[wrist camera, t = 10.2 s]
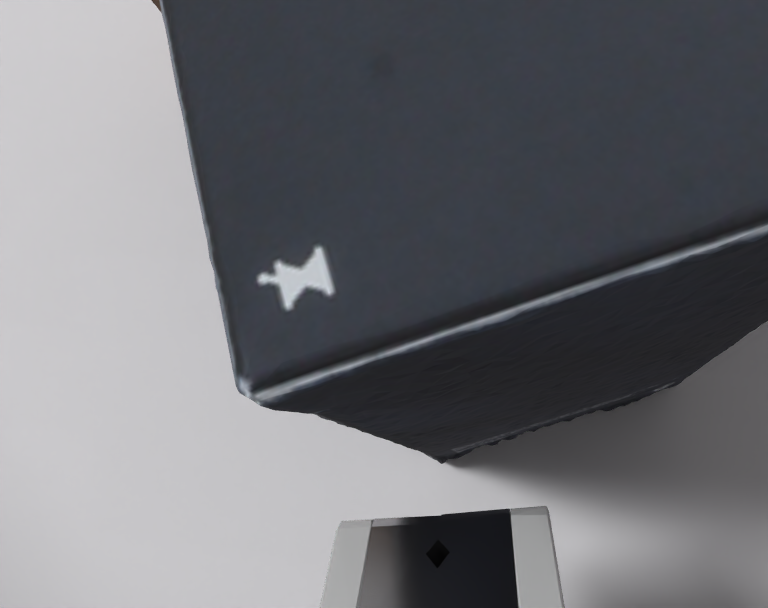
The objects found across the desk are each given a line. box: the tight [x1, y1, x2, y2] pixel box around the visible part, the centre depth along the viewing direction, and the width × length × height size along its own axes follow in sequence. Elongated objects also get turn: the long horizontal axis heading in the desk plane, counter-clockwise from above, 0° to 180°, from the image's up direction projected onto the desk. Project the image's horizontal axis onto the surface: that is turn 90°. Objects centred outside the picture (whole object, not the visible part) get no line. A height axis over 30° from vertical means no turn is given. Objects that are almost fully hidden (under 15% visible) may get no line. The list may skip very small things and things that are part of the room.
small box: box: [159, 0, 768, 464], centre depth 11 cm, size 11×6×10 cm, turn 16°
